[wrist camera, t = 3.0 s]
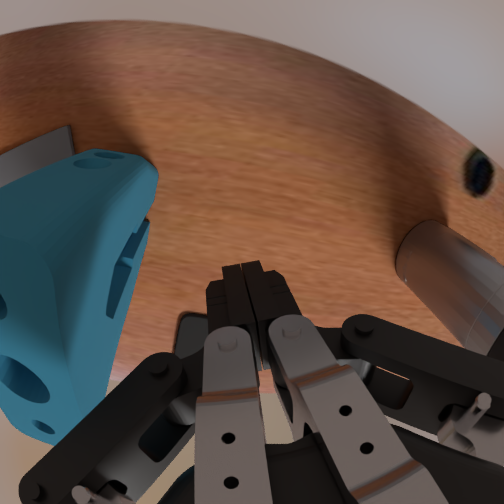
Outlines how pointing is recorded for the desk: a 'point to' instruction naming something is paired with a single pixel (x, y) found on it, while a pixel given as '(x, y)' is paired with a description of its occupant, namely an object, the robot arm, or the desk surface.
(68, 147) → the mat
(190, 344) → the phone
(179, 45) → the desk surface
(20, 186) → the block
